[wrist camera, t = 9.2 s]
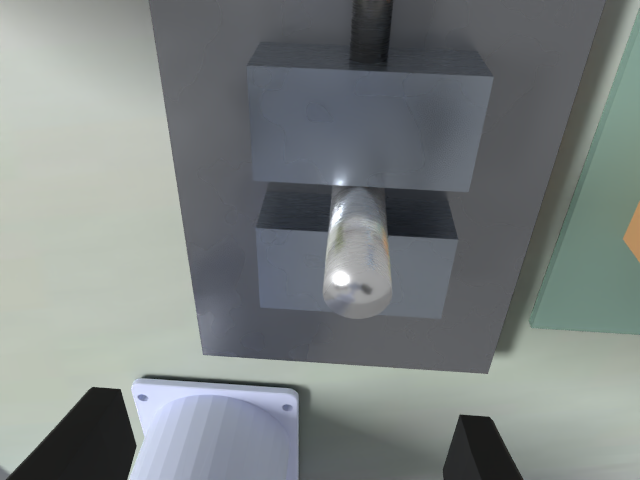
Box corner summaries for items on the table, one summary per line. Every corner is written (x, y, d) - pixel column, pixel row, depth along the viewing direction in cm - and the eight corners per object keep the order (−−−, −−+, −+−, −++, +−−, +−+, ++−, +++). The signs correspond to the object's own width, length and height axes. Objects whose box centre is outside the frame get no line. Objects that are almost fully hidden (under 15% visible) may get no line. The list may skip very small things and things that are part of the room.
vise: (482, 352, 23) (523, 513, 17) (209, 334, 23) (160, 485, 17) (638, -175, 12) (878, -215, 7) (138, -189, 13) (-43, -238, 7)
